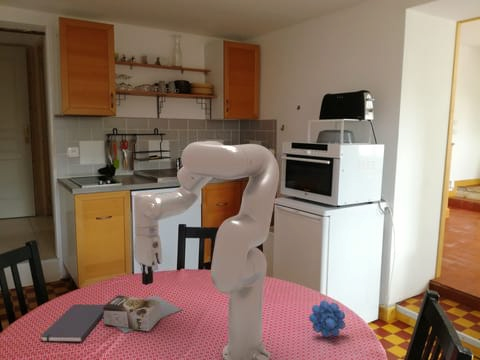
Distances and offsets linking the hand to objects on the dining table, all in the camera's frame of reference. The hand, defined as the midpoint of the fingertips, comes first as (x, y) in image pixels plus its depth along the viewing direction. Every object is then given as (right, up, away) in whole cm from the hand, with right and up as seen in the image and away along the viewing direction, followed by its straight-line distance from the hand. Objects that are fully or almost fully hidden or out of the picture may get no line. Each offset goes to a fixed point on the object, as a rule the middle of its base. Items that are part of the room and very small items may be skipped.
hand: (147, 283), depth 132 cm
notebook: (-22, -12, -4) cm, 26 cm away
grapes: (+58, -15, -10) cm, 60 cm away
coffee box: (+4, -9, -4) cm, 11 cm away
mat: (-3, -12, +4) cm, 13 cm away
